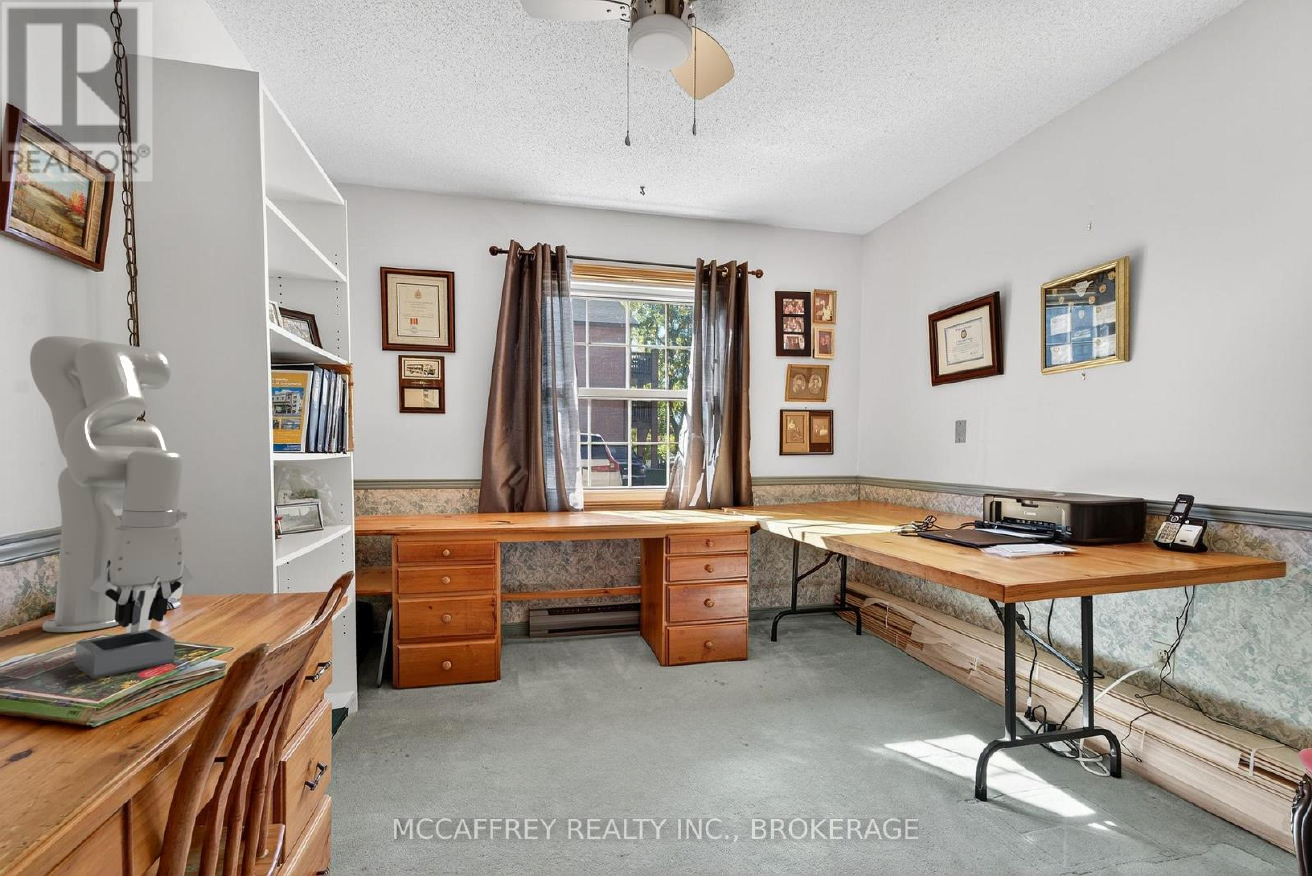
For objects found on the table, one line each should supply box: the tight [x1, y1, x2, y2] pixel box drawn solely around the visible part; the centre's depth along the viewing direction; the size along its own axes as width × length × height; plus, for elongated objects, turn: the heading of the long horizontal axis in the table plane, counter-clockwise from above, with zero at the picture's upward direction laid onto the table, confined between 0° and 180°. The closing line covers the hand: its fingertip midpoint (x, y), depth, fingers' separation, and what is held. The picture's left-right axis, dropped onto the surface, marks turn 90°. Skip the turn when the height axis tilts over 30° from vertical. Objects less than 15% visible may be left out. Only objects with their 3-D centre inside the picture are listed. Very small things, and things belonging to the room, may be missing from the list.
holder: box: [74, 628, 176, 680], centre depth 93 cm, size 10×10×4 cm
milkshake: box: [125, 577, 160, 634], centre depth 104 cm, size 4×5×10 cm
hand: (140, 621), depth 104 cm, fingers closed on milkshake, 4 cm apart
